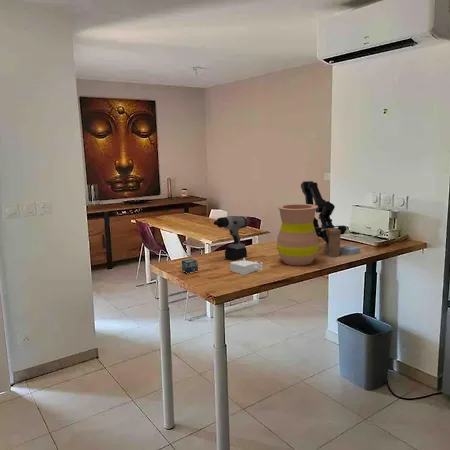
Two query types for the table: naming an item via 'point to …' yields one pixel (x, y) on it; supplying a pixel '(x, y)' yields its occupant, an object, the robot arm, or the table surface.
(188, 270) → the puzzle
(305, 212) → the vase
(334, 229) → the post
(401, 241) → the table surface
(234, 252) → the cordless drill
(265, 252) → the table surface
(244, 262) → the white box with fittings
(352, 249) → the plinth
